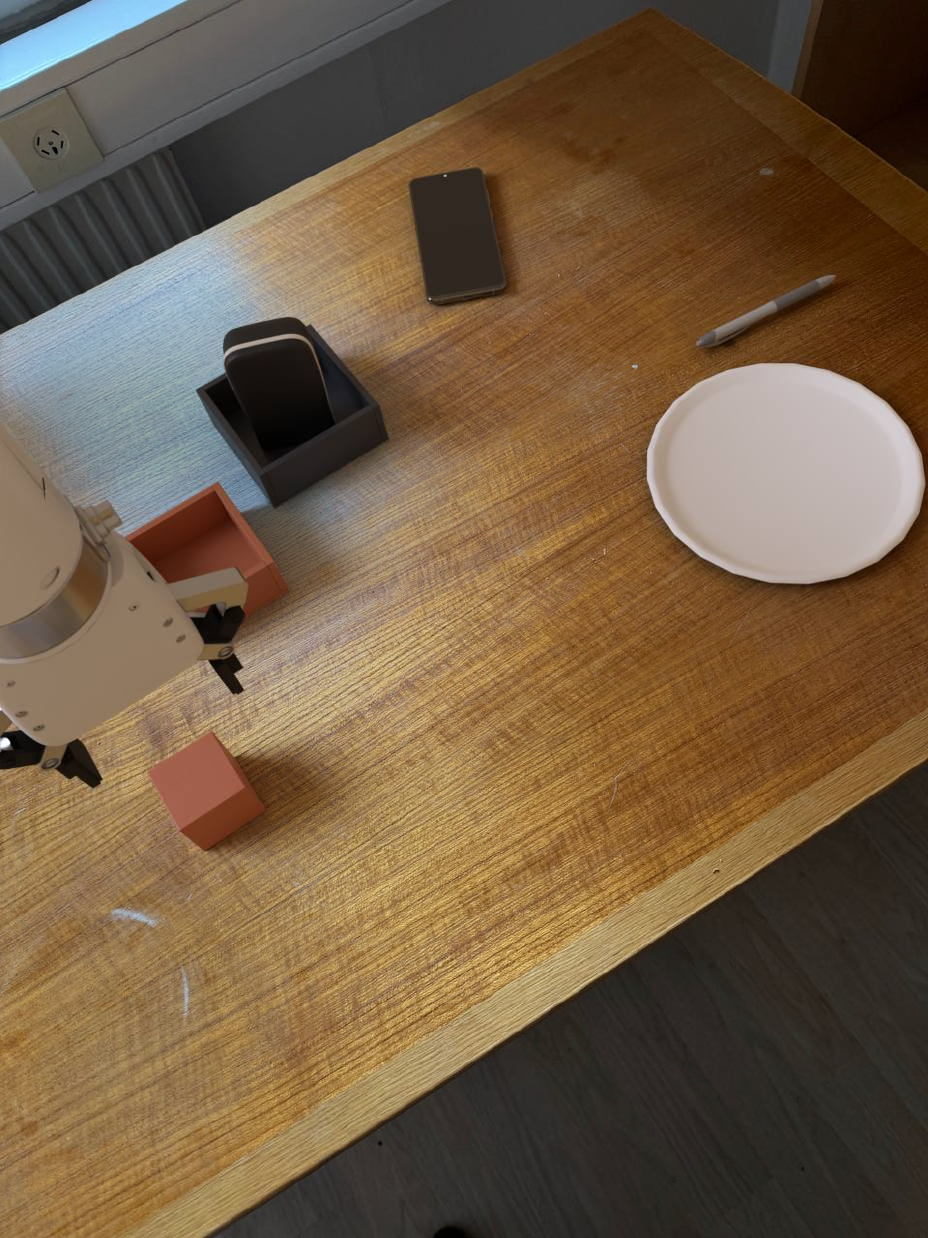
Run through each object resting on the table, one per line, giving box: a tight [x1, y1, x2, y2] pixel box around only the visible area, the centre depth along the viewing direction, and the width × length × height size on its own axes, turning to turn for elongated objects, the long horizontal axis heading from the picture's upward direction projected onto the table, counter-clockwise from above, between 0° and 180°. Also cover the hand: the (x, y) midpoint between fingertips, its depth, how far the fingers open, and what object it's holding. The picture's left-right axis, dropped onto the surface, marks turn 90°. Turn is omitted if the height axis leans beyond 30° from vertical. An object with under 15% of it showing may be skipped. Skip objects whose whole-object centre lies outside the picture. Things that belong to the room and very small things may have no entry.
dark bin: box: [195, 323, 390, 509], centre depth 86 cm, size 11×11×4 cm
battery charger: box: [222, 316, 337, 450], centre depth 83 cm, size 7×4×11 cm, turn 101°
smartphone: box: [408, 166, 508, 306], centre depth 96 cm, size 7×1×16 cm
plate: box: [646, 362, 926, 586], centre depth 80 cm, size 21×21×1 cm
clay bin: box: [123, 481, 290, 620], centre depth 80 cm, size 9×9×4 cm
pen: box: [695, 274, 837, 348], centre depth 88 cm, size 1×14×1 cm, turn 117°
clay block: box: [147, 730, 267, 852], centre depth 71 cm, size 5×5×5 cm
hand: (160, 720), depth 62 cm, fingers open, 9 cm apart
